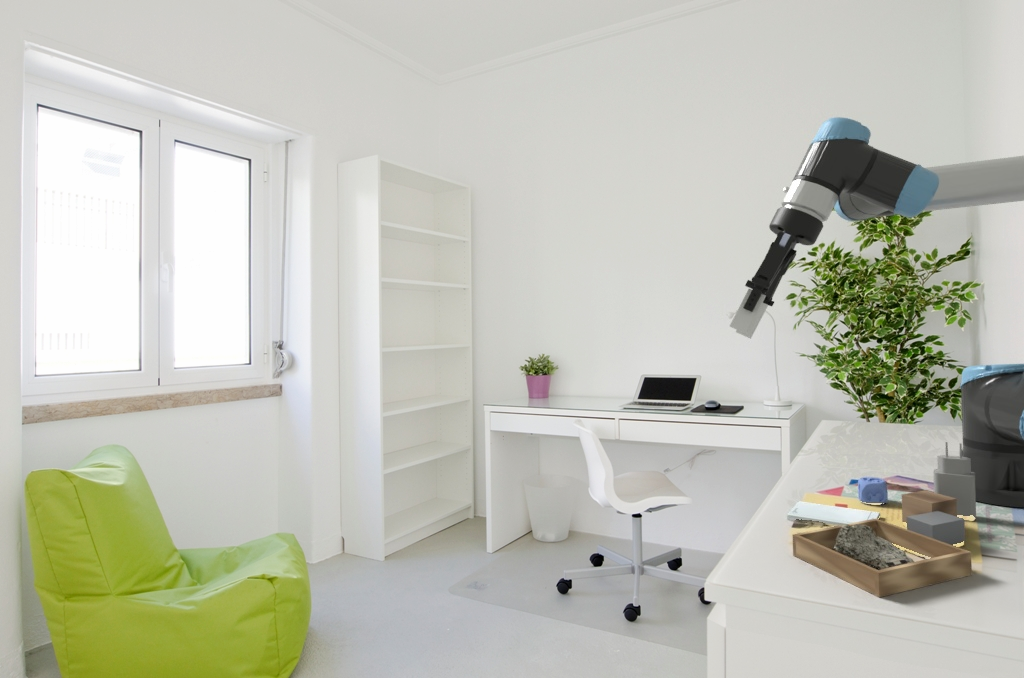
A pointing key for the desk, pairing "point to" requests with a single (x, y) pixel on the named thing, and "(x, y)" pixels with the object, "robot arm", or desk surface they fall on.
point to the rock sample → (869, 547)
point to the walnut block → (927, 504)
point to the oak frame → (888, 581)
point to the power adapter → (956, 481)
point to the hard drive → (829, 514)
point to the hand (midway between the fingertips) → (740, 333)
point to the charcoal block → (938, 526)
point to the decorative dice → (872, 490)
